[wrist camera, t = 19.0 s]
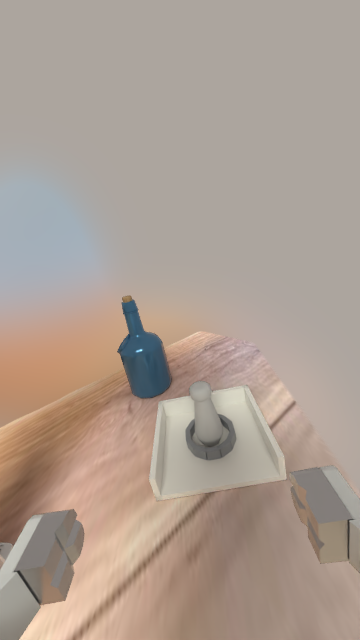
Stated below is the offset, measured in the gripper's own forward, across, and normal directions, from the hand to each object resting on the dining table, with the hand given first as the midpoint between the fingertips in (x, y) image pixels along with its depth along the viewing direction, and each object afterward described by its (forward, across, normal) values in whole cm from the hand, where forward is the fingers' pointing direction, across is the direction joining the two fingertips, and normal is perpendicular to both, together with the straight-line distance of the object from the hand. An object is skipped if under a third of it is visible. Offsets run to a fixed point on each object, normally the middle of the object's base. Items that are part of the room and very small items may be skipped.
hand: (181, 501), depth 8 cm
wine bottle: (+57, +15, +30) cm, 66 cm away
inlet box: (+32, 0, +30) cm, 44 cm away
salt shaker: (+32, 0, +29) cm, 43 cm away
